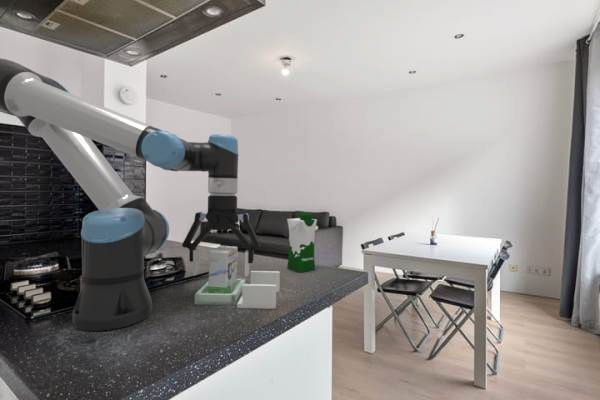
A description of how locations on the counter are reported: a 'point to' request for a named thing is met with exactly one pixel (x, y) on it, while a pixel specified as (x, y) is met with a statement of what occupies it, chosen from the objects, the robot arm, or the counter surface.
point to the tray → (219, 295)
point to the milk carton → (301, 243)
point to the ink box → (222, 270)
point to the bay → (260, 290)
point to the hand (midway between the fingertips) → (221, 274)
